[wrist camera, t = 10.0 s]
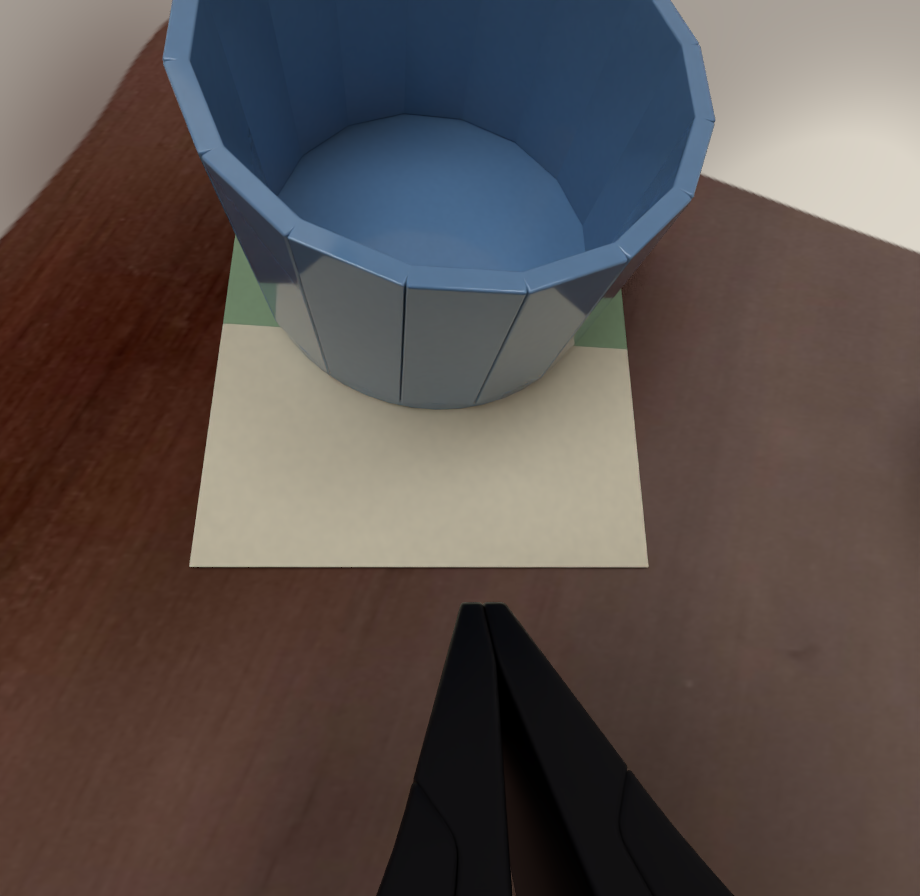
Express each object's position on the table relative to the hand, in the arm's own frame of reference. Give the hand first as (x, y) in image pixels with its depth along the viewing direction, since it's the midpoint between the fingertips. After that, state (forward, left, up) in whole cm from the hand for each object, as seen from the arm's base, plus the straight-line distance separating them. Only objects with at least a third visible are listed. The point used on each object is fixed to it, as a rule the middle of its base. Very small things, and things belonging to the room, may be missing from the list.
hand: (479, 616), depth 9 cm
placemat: (+11, +3, -11) cm, 16 cm away
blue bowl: (+15, +5, -11) cm, 19 cm away
